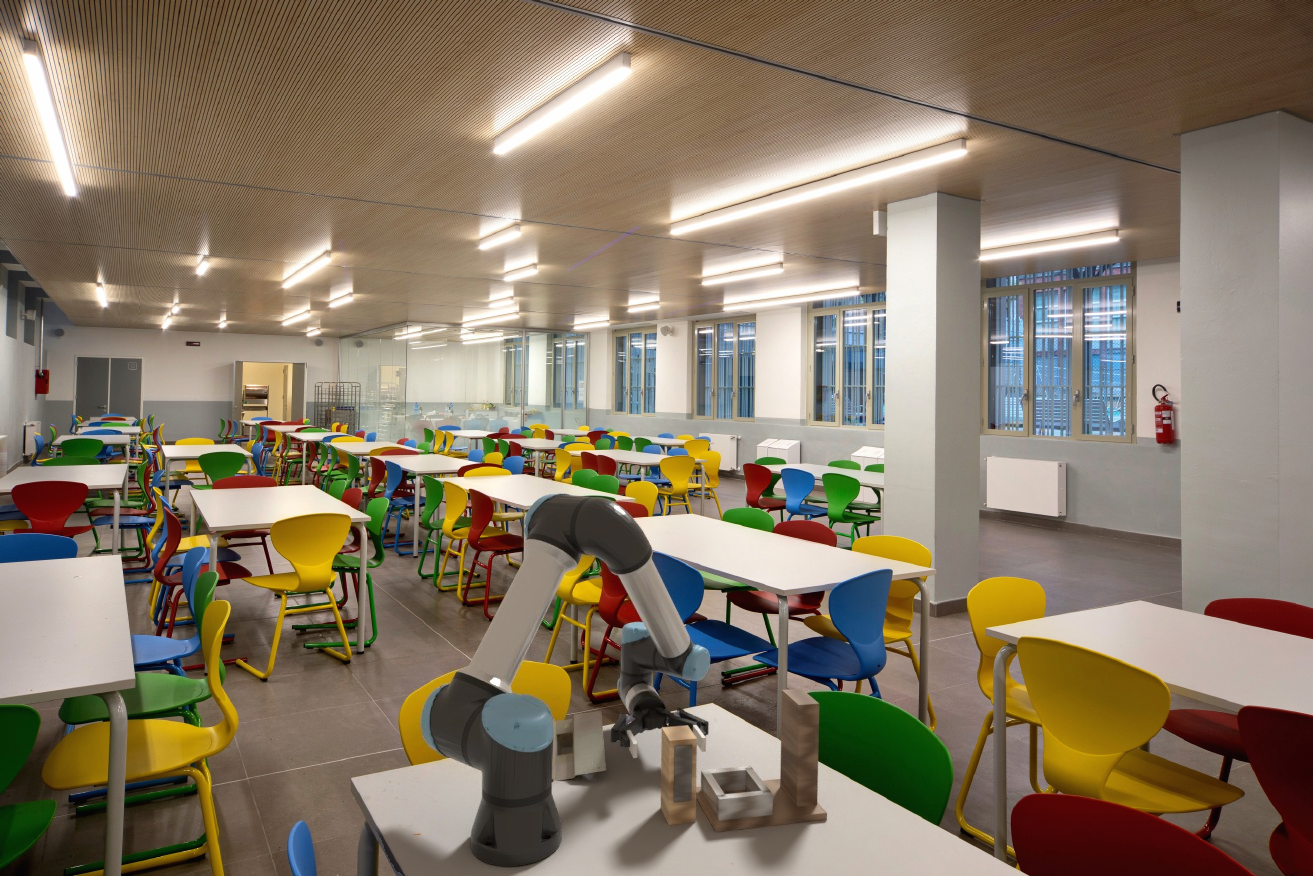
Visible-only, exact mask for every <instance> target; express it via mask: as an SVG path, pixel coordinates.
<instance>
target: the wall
mask: <svg viewBox="0 0 1313 876" xmlns="http://www.w3.org/2000/svg"><path fill="white" fill-rule="evenodd" d="M552 725H553V729H554V731H553V734H554V735H553V759H552V782H553V781H557V782H559V781H563V780H570V779H574V778H575V777H576V776H580V775H582V776H583V775H587V774H592V773H593V774H594V773H599V772H604V771H607V768H606V767H607V764H606V753H605V752H606V751H605V740H604V731H603V729H604V727H603V716H602V710H598V711H597V710H596V711H590V712H583V713H575V714H573V718H568V719H560V720H555V717H553V716H552Z"/></svg>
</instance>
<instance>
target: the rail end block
mask: <svg viewBox="0 0 1313 876" xmlns="http://www.w3.org/2000/svg"><path fill="white" fill-rule="evenodd" d="M660 744H661V749H660V750H661V752H660V755H661V759H660V760H661V762H660V811H662V814H663V816H664V819H665V820H666V822H667V824H668V826H669V825H677V824H678V825H680V824H687V823H688V824H689V823H696V822H697V821H696V817H697V816H696V815H697V798H696V787H697V757H698V756H697V753H698V752H697V751H698V750H697V749H698V747H697V746H698V745H697V738H696V736H695V735H694V734H693V732H692V731H691V729H690V728H689V726H688V725H686V726H674V727H662V728H661V743H660Z"/></svg>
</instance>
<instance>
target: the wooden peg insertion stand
mask: <svg viewBox="0 0 1313 876" xmlns="http://www.w3.org/2000/svg"><path fill="white" fill-rule="evenodd" d="M780 718H781V719H780V720H781V723H780V726H781V727H780V771H779V772H780V778H776V779H766V780H763V779H762V778H761V777H760V776H759V775H758V773H757V772H756V771H755V769H754V768H753V767H752V766H751V765H745V766H734V767H732V766H731V767H723V768H722V767H721V768H713V769H710V768H709V769H703V770H702V769H701V770H700V786H696V801H697V802H698V804H699V806H700V807H701V809H702V810H703V813H704V814H705V815H706V817H707V819H708V821H709V822H710V824H711V826H712V828H713V829H714V831H715V832H716V833H720V832H726V831H727V832H729V831H735V830H736V831H738V830H744V829H754V828H762V827H771V826H779V825H790V824H797V823H798V824H799V823H807V822H814V821H824V820H828V812H827V811H826V810H825V809H824V808H823V806H821V804H820V803H819V802H818V795H819V793H818V791H819V790H818V788H819V786H818V784H819V782H818V781H819V739H820V738H819V735H820V734H819V733H820V725H819V724H820V703H819V702H818V701H816V699H814V698H813V697H812V696H811V695H809V694H808V693H807V692H806V691H805V690H803V688H791V689H781V716H780Z"/></svg>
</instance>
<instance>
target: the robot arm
mask: <svg viewBox="0 0 1313 876" xmlns="http://www.w3.org/2000/svg"><path fill="white" fill-rule="evenodd" d="M523 522H524V525H525V527H524V529H523V530H524V534H525V535H524V536H525V538H526V539H525V541H524V544H523V545H524V547H525V551H526V555H525V557H524V559H523V561H522V563H521V564H520V567H519V569H518V571H517V572H516V574H515V576H514V578H513V580H512V582H511V584H510V586H509V588H508V590H507V592H506V593H505V595H504V598H502V601H501V603H500V605H499V606H498V609H497V611H496V612H495V615H494V616H493V618H492V620H491V622H490V625H489V626H488V629H487V630H486V632H485V633H484V636H483V638H482V640H481V641H480V643H479V645H478V647H477V649H476V651H475V653H474V655H473V656H472V659H471V660H470V662H469V664H468V665H467V666H465V667H462V668H460V669H457V670H456V671H455V673H454V675H453V677H452V679H451V680H450V682H449V683H443V684H441V685H440V686H439V687H435V689H433V690H432V691H431V693H430V694H429V695H428V697H427V698H426V700H425V702H424V704H423V707H422V710H421V715H420V728H421V732H422V733H421V735H422V738H423V739H424V742H425V744H427V745H428V747H430V748H431V749H432V750H433V751H436V752H437V753H438V754H439V755H441V756H443V757H445V758H447V759H452V760H455V761H457V762H459V763H462V764H463V765H466V766H468V767H471V768H473V769H476V770H478V771H480V772H481V778H482V779H481V800H480V803H479V805H478V809H477V811H476V815H475V818H474V821H473V824H472V827H471V830H470V849H471V852H472V854H473V855H474V856H475V857H476V858H477V859H479V860H481V861H483V862H484V863H487V864H491V865H494V866H501V867H519V866H525V865H529V864H530V865H531V864H534V863H536V862H537V863H538V862H540V861H542V860H543V859H546V858H547V857H549V856H550V855H552V854H553V853H554V852H555V851H557V850H558V848H559V846H560V845H561V843H562V832H563V831H562V829H563V828H562V821H561V818H560V815H559V811H558V808H557V805H556V802H555V800H554V795H553V792H552V790H553V789H552V788H553V786H552V785H553V784H552V783H553V779H552V759H553V735H554V734H553V731H554V729H553V725H552V718H553V714H552V711H551V709H550V707H549V705H548V704H547V703H546V702H545V701H543V700H542V699H540V698H538V697H536V696H533V695H531V694H525V693H521V694H518V693H517V692H513V691H512V686H511V685H512V683H513V681H514V679H515V677H516V675H517V673H518V671H519V668H520V667H521V665H522V662H523V661H524V660H525V657H526V655H527V652H528V650H529V648H530V646H531V645H532V642H533V640H534V638H535V637H536V634H537V632H538V630H539V628H540V625H541V624H542V622H543V620H544V618H545V615H546V613H547V612H548V609H549V608H550V605H551V603H552V601H553V599H554V597H555V595H556V593H557V591H558V589H559V586H560V585H561V584H562V580H563V579H564V577H565V574H566V573H568V572H571V571H574V570H576V569H577V568H578V565H579V563H580V561H581V559H582V557H583V556H584V555H585V556H591V557H594V558H597V559H600V560H601V561H602V562H604V563H605V564H606V566H607V569H608V570H609V571H610V572H611V573H612V574H614V575H615V576H618V578H619V579H620V582H621V584H622V585H623V587H624V589H625V591H626V593H627V595H628V596H629V597H628V598H630V600H631V602H632V605H633V606H634V608H635V610H636V611H637V614H638V615H639V617H640V619H641V621H634V622H630V623H625V624H624V625H623V627H622V629H621V642H620V676H619V678H618V680H617V685H616V686H617V692H618V695H619V698H620V700H621V701H622V703H623V705H624V707H625V708H626V709H627V711H628V714H626V712H625V711H621V712H619V717H618V719H617V720H616V722H615V723H614V725H613V726H611V729H610V743H617V741H619V745H620V746H619V747H621V748H625V749H626V748H627V749H628V750H629V753H630V754H631V756H632V759H637V758H638V742H637V740H636V737H635V736H636V735H638V734H643V733H644V732H645V731H653V730H656V729H658V730H662V727H674V726H686V725H688V726H689V728H690V729H691V731H692V732H693V734H694V735H695V736H696V738H697V746H698V747H697V748H698V749H699V750H700V751H701V752H702V753H705V752H707V737H706V736H707V735H709V725H710V724H709V722H710V721H708V720H705V719H703V718H701V717H699V716H696V715H694V714H691V713H690V712H687V711H685V709H684V708H682V707H677V708H676V711H675V712H674V711H673V712H671V711H670V710H669V709H667V707H666V704H665V703H664V701H663V700H662V698H661V696H660V695H659V693H658V692H657V691H656V689H655V687H654V672H657V673H662V674H664V675H668V676H672V677H675V678H679V679H682V680H689V681H694V682H699V681H702V680H703V679H704V678H705V677H706V675H707V673H708V672H709V669H710V665H711V656H710V652H709V650H708V649H707V648H706V647H704V646H701V645H699V644H694V643H693V641H692V639H691V637H690V634H689V633H688V631H687V628H686V626H685V624H684V622H683V620H682V618H681V616H680V614H679V612H678V610H677V608H676V606H675V604H674V602H673V599H672V598H671V596H670V594H669V591H668V589H667V587H666V586H665V583H664V581H663V578H662V577H661V575H660V573H659V571H658V569H657V566H656V565H655V563H654V561H653V559H652V556H653V552H654V550H653V547H652V545H651V543H650V541H649V539H648V538H647V536H646V534H645V532H644V530H643V529H642V527H641V526H640V525H639V524H638V523H637V521H636V520H635V519H634V518H633V516H632V515H631V514H630V513H629V512H628V511H627V510H626V509H624V508H623V507H622V506H621V505H620V504H618V503H616V502H615V501H613V500H611V499H608V498H604V497H597V496H595V497H593V496H583V495H573V494H569V493H561V492H560V493H552V494H551V493H549V494H545V495H542V496H541V497H539V498H537V500H535V501H534V502H533V503H532V505H530V506H529V508H528V510H527V513H526V515H525V519H524V521H523Z"/></svg>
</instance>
